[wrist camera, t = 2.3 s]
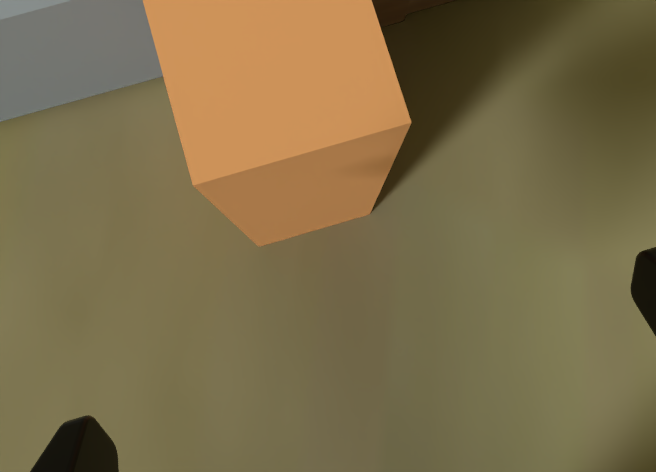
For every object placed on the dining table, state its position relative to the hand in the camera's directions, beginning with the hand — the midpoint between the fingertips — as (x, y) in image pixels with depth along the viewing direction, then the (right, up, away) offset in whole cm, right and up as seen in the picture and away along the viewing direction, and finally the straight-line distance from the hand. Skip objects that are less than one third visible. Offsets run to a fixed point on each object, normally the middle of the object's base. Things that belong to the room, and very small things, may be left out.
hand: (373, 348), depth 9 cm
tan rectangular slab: (-2, +5, +13) cm, 14 cm away
